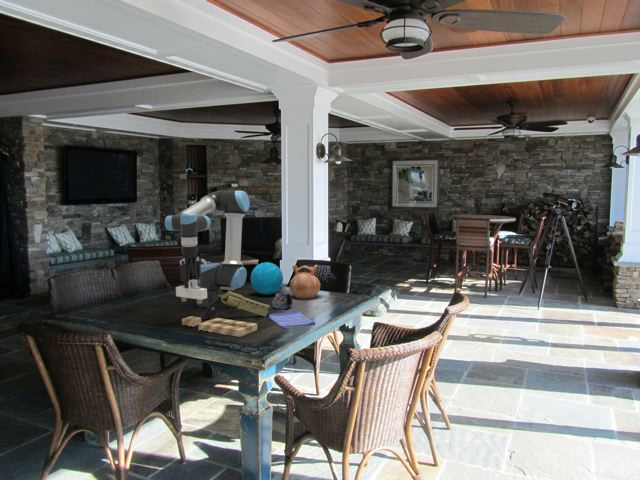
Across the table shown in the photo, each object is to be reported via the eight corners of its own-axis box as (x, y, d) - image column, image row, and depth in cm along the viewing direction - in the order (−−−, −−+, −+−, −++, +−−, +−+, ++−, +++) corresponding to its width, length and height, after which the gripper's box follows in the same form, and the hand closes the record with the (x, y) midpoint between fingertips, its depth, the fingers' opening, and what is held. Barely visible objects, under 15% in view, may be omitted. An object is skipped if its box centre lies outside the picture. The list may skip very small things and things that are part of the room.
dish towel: (299, 315, 277) (299, 309, 277) (316, 326, 255) (316, 320, 255) (267, 318, 270) (267, 312, 270) (282, 329, 248) (282, 323, 248)
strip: (176, 301, 258) (175, 286, 257) (182, 299, 261) (181, 285, 261) (201, 304, 250) (201, 290, 249) (207, 303, 254) (206, 288, 253)
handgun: (202, 315, 268) (214, 285, 268) (258, 333, 275) (269, 303, 275) (202, 317, 264) (214, 286, 264) (259, 335, 271) (271, 305, 271)
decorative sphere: (258, 290, 341) (257, 259, 339) (287, 292, 335) (287, 260, 333) (245, 296, 321) (245, 264, 320) (276, 298, 316) (276, 265, 314)
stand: (182, 325, 255) (182, 318, 255) (190, 322, 261) (190, 316, 260) (192, 326, 252) (192, 320, 252) (201, 323, 257) (201, 317, 257)
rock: (291, 305, 285) (283, 288, 287) (274, 314, 287) (267, 296, 289) (298, 305, 295) (290, 289, 297) (282, 313, 297) (275, 297, 300)
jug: (322, 294, 327) (322, 262, 325) (317, 300, 309) (317, 267, 307) (293, 293, 330) (293, 262, 328) (286, 299, 313) (286, 266, 311)
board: (198, 330, 246) (198, 323, 246) (216, 323, 257) (216, 317, 257) (240, 336, 234) (240, 330, 234) (257, 330, 246) (257, 323, 245)
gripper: (182, 248, 243) (184, 298, 246) (207, 244, 258) (209, 291, 261) (170, 247, 247) (172, 296, 250) (195, 243, 262) (197, 289, 265)
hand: (191, 293), depth 255 cm, fingers closed on strip, 4 cm apart
